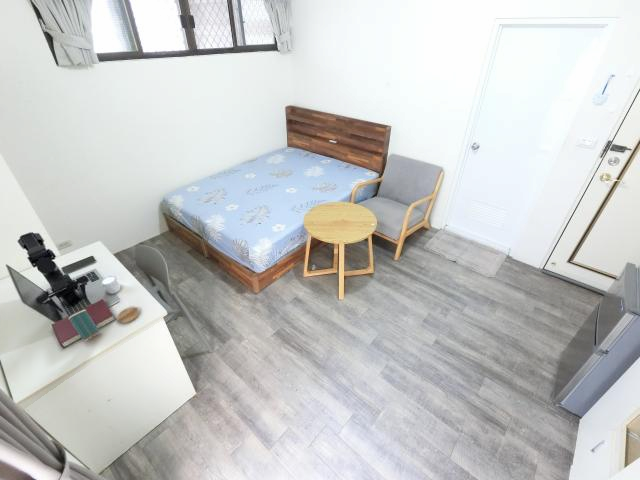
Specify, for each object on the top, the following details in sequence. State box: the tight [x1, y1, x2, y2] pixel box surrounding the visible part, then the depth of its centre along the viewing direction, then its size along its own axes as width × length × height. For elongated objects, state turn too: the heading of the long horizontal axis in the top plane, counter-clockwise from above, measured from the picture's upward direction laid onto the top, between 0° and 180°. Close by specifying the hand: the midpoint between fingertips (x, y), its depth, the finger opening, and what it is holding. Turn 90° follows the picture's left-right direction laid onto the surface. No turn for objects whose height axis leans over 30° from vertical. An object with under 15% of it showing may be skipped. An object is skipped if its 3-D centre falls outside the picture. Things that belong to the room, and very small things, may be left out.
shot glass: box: [100, 275, 121, 295], centre depth 155 cm, size 7×7×7 cm
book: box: [51, 298, 117, 349], centre depth 139 cm, size 15×21×3 cm
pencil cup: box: [68, 309, 101, 343], centre depth 131 cm, size 13×7×13 cm, turn 47°
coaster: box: [117, 307, 140, 324], centre depth 144 cm, size 9×9×1 cm
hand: (75, 306), depth 132 cm, fingers open, 9 cm apart
